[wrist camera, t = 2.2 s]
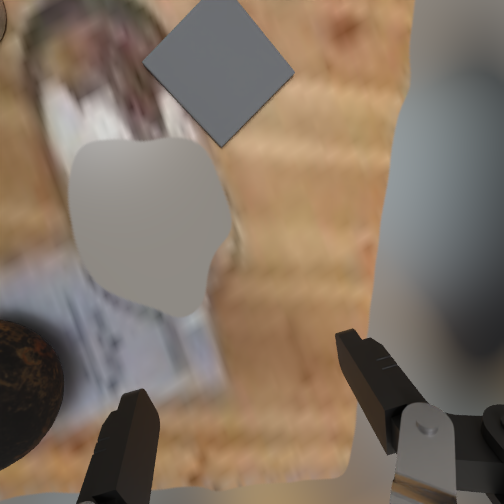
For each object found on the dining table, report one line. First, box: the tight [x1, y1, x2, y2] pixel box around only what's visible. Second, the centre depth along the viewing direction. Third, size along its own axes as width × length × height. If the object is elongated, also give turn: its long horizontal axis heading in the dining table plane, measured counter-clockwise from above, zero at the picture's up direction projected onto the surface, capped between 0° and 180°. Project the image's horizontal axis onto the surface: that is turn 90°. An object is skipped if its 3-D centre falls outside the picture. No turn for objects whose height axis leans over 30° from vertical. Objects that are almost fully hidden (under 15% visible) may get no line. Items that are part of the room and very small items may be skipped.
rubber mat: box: [142, 0, 295, 148], centre depth 37 cm, size 13×13×1 cm
